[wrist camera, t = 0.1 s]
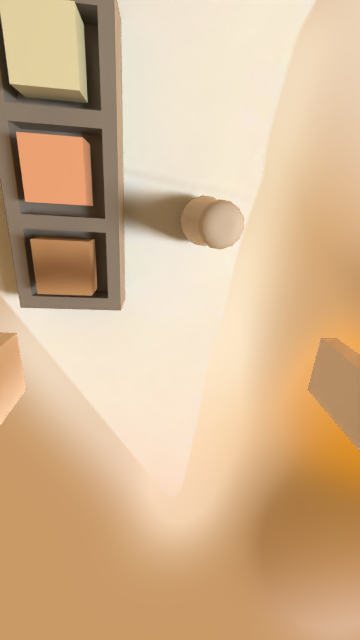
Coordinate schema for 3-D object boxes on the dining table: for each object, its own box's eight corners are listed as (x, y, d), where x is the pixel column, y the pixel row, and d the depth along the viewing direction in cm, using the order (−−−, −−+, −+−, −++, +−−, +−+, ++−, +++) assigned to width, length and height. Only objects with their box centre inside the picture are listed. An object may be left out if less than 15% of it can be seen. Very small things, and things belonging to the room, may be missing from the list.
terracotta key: (30, 139, 29) (15, 131, 26) (89, 144, 30) (82, 137, 27) (37, 202, 31) (25, 201, 28) (93, 205, 32) (86, 205, 29)
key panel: (-2, 5, 28) (-34, -36, 23) (120, 20, 29) (114, -16, 24) (36, 295, 39) (20, 307, 34) (125, 298, 40) (120, 310, 35)
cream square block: (16, 16, 25) (-3, -9, 23) (83, 24, 26) (74, 1, 23) (25, 97, 28) (9, 83, 25) (87, 103, 28) (79, 90, 25)
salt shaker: (186, 248, 38) (199, 267, 26) (173, 205, 36) (181, 202, 24) (227, 235, 38) (260, 247, 26) (217, 190, 36) (248, 180, 24)
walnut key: (41, 236, 32) (30, 238, 29) (94, 238, 33) (88, 241, 30) (47, 286, 35) (37, 293, 32) (97, 288, 35) (91, 295, 32)
